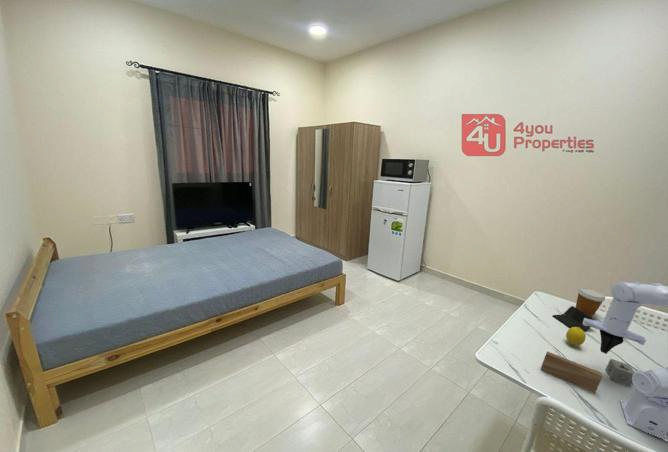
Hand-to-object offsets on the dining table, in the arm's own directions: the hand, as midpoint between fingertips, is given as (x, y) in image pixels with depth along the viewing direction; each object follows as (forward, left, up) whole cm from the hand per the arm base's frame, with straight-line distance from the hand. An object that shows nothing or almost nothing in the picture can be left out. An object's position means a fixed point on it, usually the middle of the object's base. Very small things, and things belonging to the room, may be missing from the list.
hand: (603, 351), depth 93 cm
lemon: (+13, +5, -9) cm, 17 cm away
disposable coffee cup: (+44, -1, -9) cm, 45 cm away
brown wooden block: (-11, +8, -9) cm, 16 cm away
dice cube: (+2, -6, -9) cm, 11 cm away
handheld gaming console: (+31, +4, -9) cm, 33 cm away
